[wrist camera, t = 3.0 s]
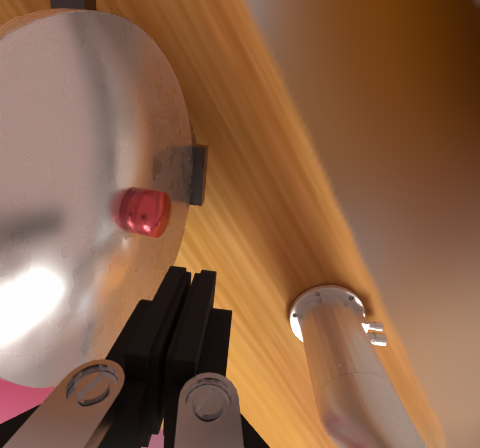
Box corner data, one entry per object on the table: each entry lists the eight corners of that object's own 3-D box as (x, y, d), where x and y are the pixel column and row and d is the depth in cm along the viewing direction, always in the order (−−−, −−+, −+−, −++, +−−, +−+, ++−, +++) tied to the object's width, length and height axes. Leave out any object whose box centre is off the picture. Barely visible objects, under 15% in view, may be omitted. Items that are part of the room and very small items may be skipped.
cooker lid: (182, 56, 25) (221, 60, 24) (174, 266, 32) (203, 272, 32) (-258, -158, 5) (-117, -161, 5) (-18, 481, 13) (47, 507, 13)
